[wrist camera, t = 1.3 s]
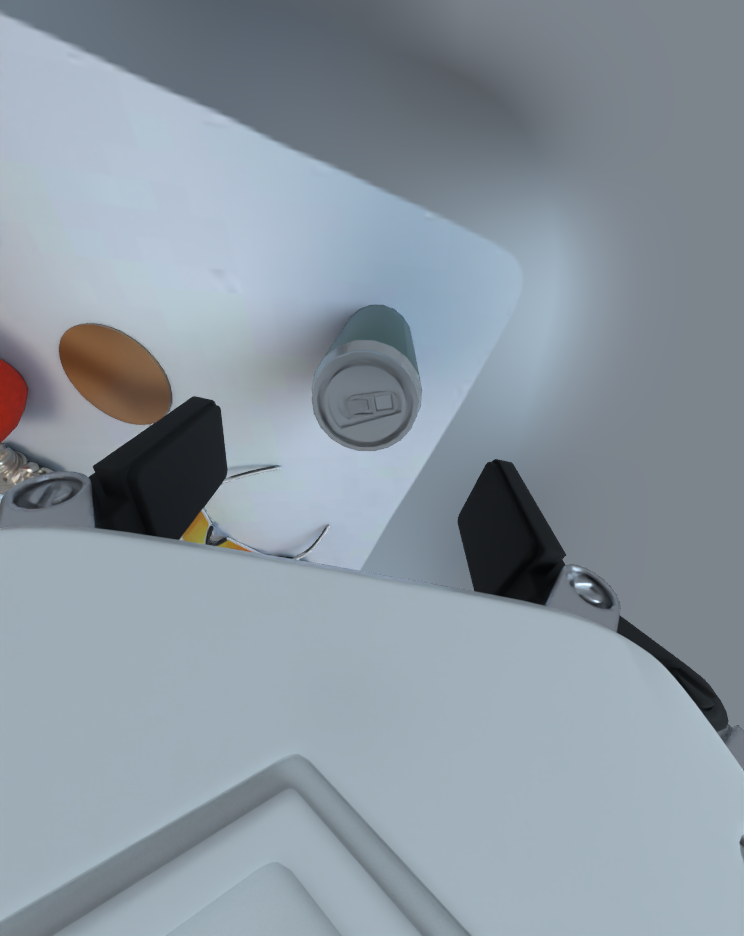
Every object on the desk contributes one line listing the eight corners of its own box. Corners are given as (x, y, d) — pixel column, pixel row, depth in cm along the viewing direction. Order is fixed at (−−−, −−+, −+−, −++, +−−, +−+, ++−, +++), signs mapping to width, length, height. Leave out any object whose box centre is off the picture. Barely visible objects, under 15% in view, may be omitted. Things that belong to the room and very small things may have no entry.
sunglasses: (168, 496, 35) (143, 525, 31) (272, 441, 32) (261, 465, 28) (248, 563, 42) (237, 595, 38) (339, 524, 39) (338, 553, 35)
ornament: (90, 493, 36) (63, 515, 33) (45, 498, 37) (15, 520, 34) (34, 436, 31) (-3, 456, 28) (-16, 444, 32) (-57, 464, 29)
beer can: (408, 296, 21) (418, 335, 12) (414, 370, 24) (427, 449, 15) (336, 309, 22) (290, 356, 12) (351, 379, 25) (324, 460, 16)
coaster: (43, 311, 23) (38, 312, 23) (159, 337, 24) (156, 338, 24) (86, 412, 29) (83, 414, 28) (180, 431, 29) (178, 433, 29)
